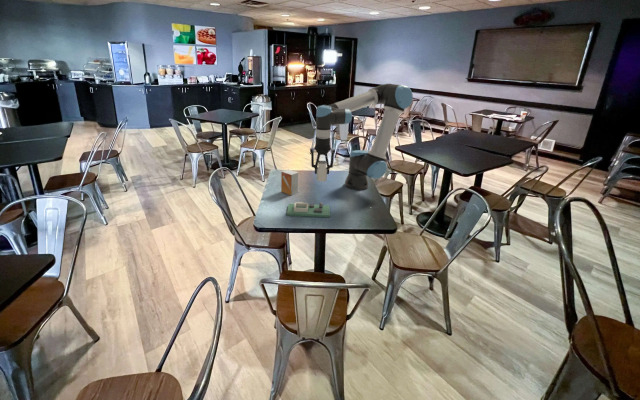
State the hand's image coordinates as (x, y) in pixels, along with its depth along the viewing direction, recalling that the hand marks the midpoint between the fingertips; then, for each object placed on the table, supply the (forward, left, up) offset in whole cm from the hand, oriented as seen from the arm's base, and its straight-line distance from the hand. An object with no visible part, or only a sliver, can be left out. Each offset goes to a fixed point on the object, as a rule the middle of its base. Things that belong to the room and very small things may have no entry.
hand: (321, 179), depth 175 cm
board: (+6, +12, -14) cm, 19 cm away
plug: (0, 0, 0) cm, 0 cm away
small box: (+18, -13, -14) cm, 26 cm away
